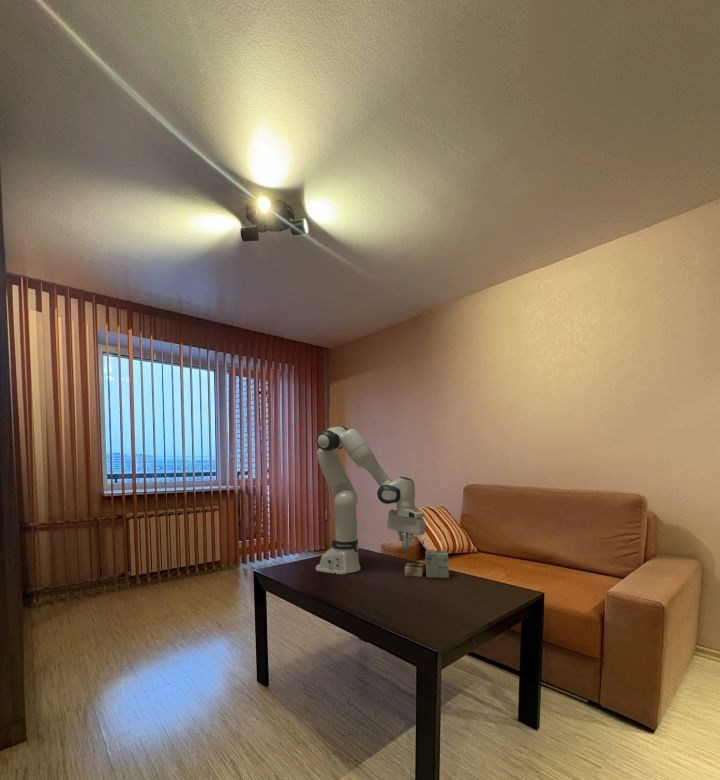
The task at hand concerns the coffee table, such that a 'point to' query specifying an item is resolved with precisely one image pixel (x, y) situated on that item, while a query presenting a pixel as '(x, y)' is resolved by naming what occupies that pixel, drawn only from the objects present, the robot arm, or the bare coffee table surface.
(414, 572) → the hole block
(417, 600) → the coffee table surface
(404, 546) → the peg
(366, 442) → the robot arm
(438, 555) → the light bulb box
